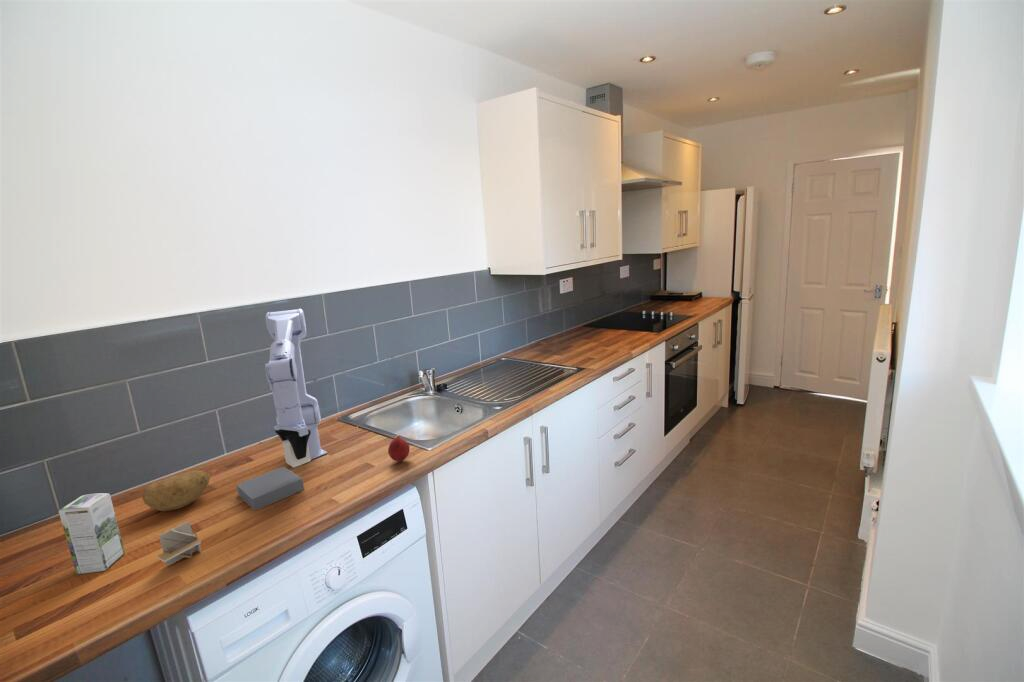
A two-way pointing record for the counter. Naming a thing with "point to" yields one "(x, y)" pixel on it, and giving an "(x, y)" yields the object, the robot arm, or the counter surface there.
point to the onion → (398, 449)
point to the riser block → (269, 487)
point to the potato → (176, 491)
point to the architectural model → (178, 544)
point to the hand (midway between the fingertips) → (297, 455)
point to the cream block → (291, 456)
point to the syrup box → (92, 533)
